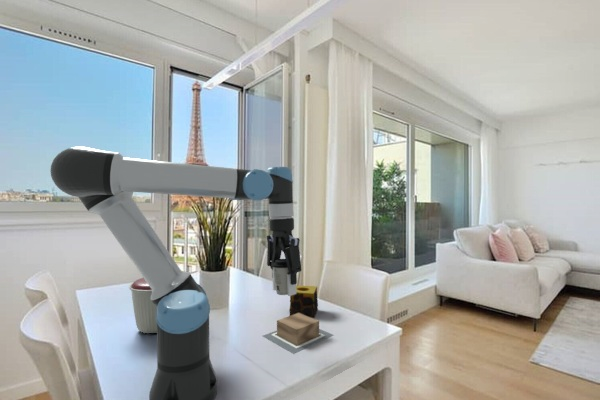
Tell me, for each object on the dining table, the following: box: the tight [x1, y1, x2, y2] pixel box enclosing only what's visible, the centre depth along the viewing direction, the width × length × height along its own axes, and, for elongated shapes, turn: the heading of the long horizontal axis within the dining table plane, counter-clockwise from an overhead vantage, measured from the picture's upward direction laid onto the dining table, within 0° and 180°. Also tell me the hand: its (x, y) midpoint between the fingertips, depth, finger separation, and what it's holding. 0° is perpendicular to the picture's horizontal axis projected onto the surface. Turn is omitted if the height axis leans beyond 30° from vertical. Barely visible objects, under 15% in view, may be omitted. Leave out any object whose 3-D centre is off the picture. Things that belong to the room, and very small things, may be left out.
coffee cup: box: [272, 258, 289, 296], centre depth 95 cm, size 7×7×10 cm
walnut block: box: [276, 313, 320, 346], centre depth 103 cm, size 10×10×5 cm
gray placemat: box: [262, 328, 334, 355], centre depth 103 cm, size 18×16×1 cm
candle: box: [288, 284, 319, 319], centre depth 124 cm, size 10×10×10 cm
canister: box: [128, 277, 157, 334], centre depth 111 cm, size 18×18×21 cm
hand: (284, 291), depth 95 cm, fingers closed on coffee cup, 7 cm apart
